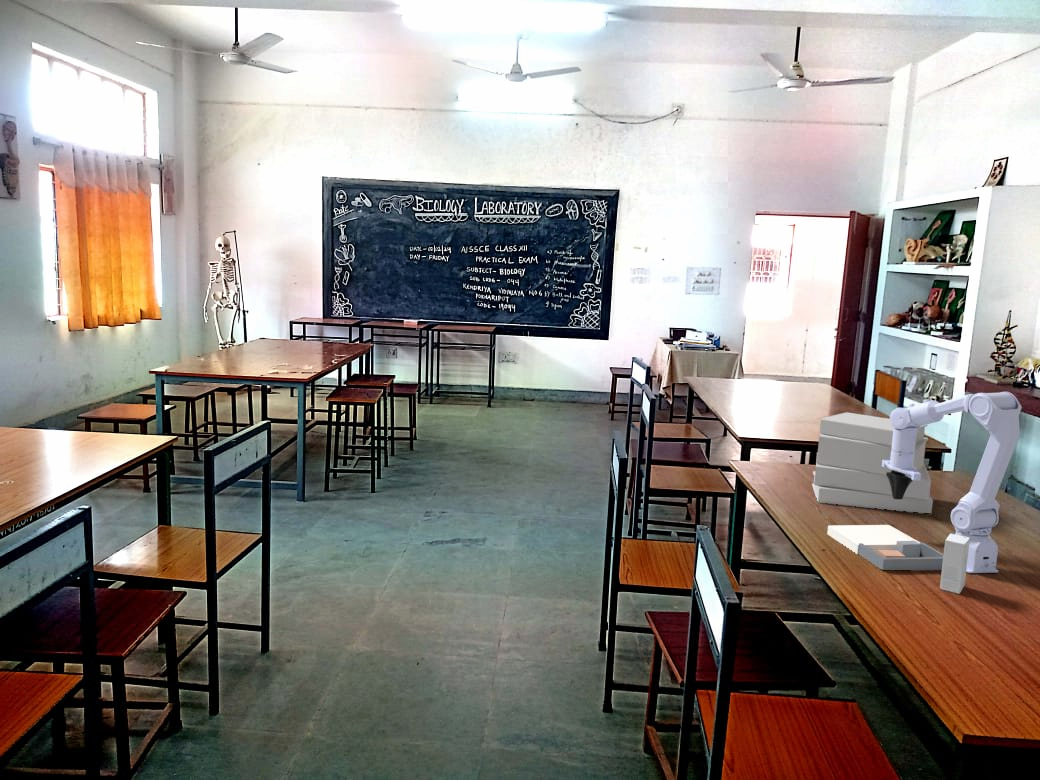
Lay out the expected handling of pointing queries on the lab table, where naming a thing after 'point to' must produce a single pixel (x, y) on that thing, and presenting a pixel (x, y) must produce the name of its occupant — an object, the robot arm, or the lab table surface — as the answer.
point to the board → (868, 536)
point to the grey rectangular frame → (905, 559)
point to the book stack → (865, 465)
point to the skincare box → (954, 563)
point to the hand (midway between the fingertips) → (897, 498)
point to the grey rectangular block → (909, 548)
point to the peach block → (890, 554)
